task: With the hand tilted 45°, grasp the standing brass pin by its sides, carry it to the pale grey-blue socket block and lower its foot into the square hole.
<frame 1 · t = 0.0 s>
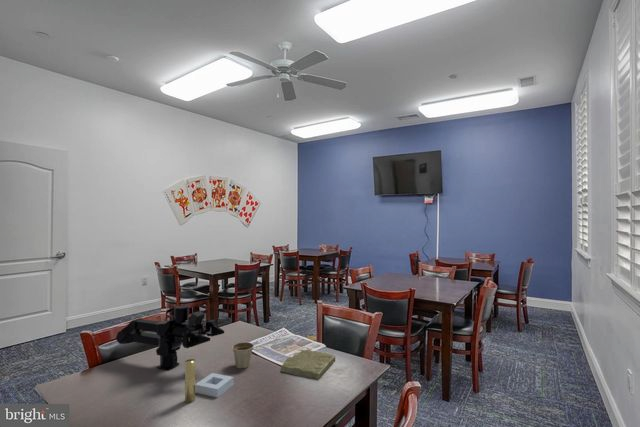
hand: (217, 335, 141), 17 cm above the table, tool horizontal, fingers open, 9 cm apart
pin: (190, 400, 122), on the table
decorative tile: (308, 367, 151), on the table
flower pot: (242, 366, 150), on the table
socket block: (214, 388, 130), on the table
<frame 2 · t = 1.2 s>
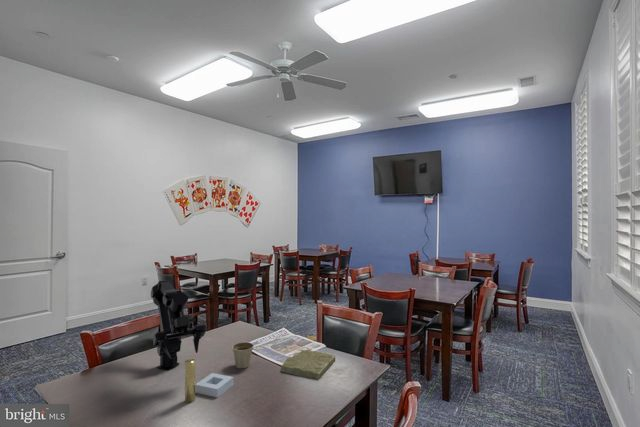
hand: (184, 355, 128), 13 cm above the table, tool tilted 45°, fingers open, 9 cm apart
nothing on the table moved.
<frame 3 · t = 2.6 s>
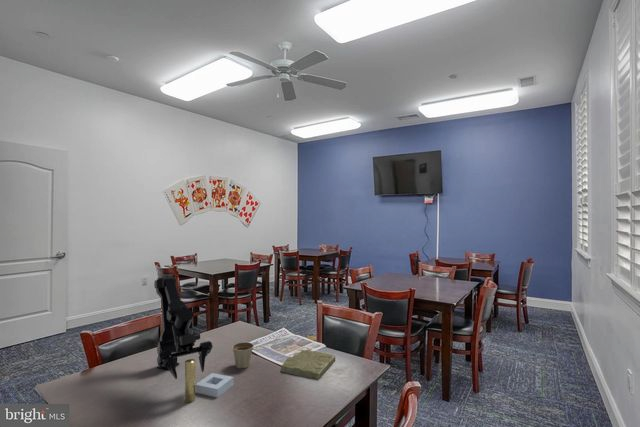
hand: (190, 374, 122), 9 cm above the table, tool tilted 45°, fingers open, 9 cm apart
nothing on the table moved.
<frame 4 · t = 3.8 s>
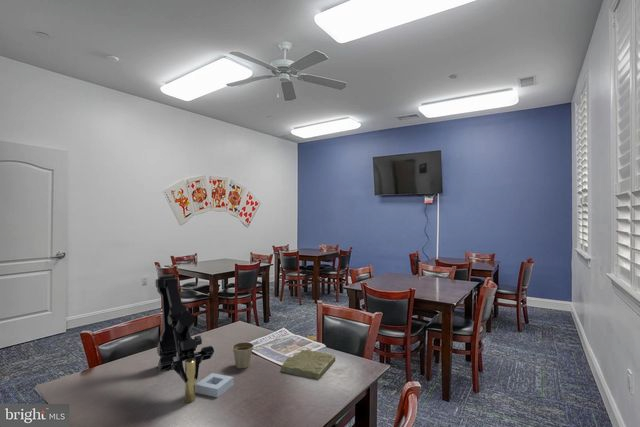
hand: (191, 380, 121), 8 cm above the table, tool tilted 45°, fingers closed on pin, 3 cm apart
pin: (190, 400, 122), on the table, touching gripper
everything else where it was.
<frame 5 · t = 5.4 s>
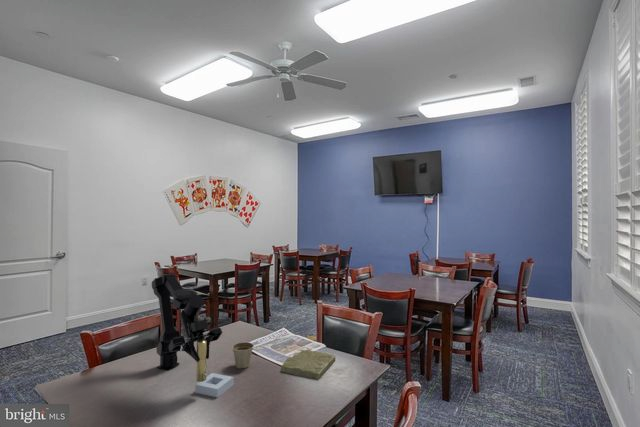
hand: (203, 360, 124), 13 cm above the table, tool tilted 45°, fingers closed on pin, 3 cm apart
pin: (201, 379, 125), point 6 cm above the table, touching gripper
everything else where it was.
when the fingers open (9 cm above the table, at t = 7.2 s): pin drops 2 cm, resting in socket block.
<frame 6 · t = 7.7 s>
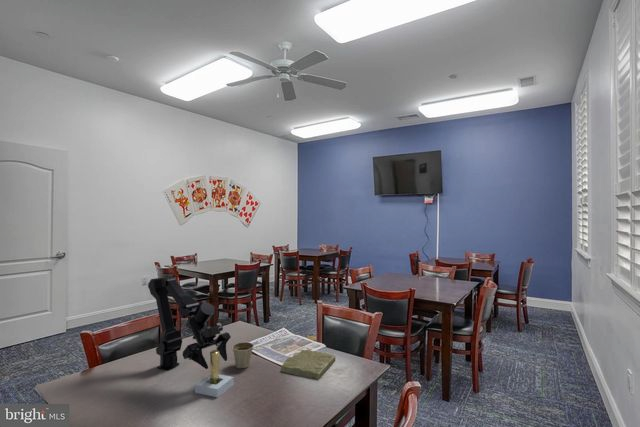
hand: (217, 364, 130), 10 cm above the table, tool tilted 45°, fingers open, 8 cm apart
pin: (214, 388, 130), resting in socket block
everything else where it was.
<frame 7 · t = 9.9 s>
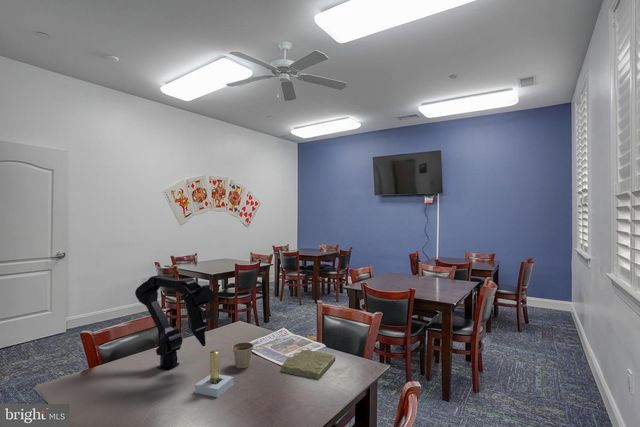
hand: (203, 345, 142), 12 cm above the table, tool tilted 20°, fingers open, 9 cm apart
nothing on the table moved.
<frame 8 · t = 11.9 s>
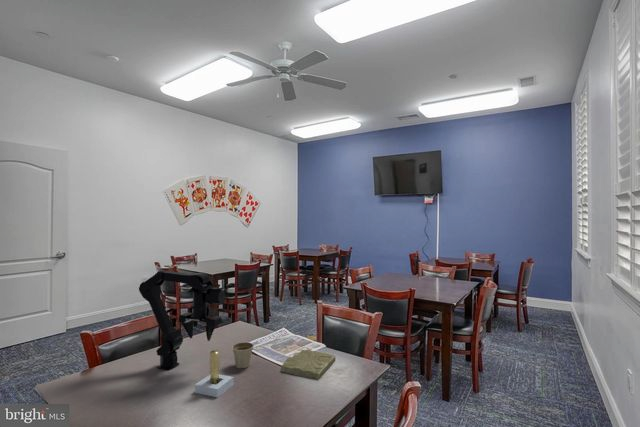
hand: (199, 339, 146), 13 cm above the table, tool pointing down, fingers open, 9 cm apart
nothing on the table moved.
at the end: pin 0.0 cm off-centre on the socket block, point 0.0 cm above the socket block's base; pin tilted 0°; the gripper is holding nothing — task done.
